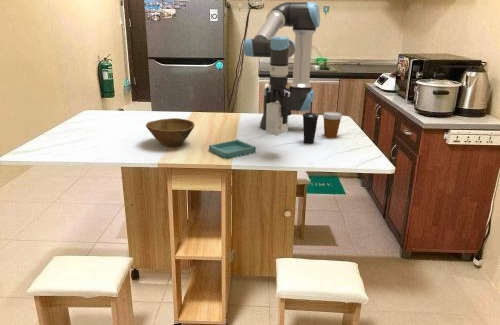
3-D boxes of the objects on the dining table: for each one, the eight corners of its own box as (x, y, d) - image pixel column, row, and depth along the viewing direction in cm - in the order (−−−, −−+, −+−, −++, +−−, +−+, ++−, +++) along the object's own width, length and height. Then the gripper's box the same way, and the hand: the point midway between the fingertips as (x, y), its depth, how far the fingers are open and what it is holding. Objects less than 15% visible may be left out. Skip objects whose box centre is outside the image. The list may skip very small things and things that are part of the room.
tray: (208, 150, 184) (208, 145, 184) (237, 144, 194) (237, 139, 193) (226, 159, 174) (226, 153, 173) (255, 152, 183) (255, 146, 183)
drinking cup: (317, 141, 201) (320, 101, 195) (315, 145, 195) (318, 104, 188) (302, 139, 204) (305, 100, 197) (299, 143, 197) (301, 102, 190)
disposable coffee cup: (339, 139, 205) (342, 116, 200) (320, 138, 206) (322, 115, 202) (339, 134, 213) (342, 112, 209) (321, 133, 215) (323, 111, 211)
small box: (276, 128, 182) (277, 100, 177) (288, 131, 178) (289, 102, 174) (265, 132, 176) (266, 103, 172) (277, 135, 172) (278, 105, 168)
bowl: (155, 154, 179) (153, 132, 176) (142, 140, 198) (141, 120, 195) (201, 147, 189) (201, 127, 185) (185, 135, 208) (184, 116, 204)
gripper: (256, 73, 174) (255, 125, 182) (288, 79, 159) (286, 135, 167) (270, 71, 178) (268, 122, 186) (302, 78, 163) (299, 132, 172)
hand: (276, 128), depth 177 cm, fingers closed on small box, 7 cm apart
